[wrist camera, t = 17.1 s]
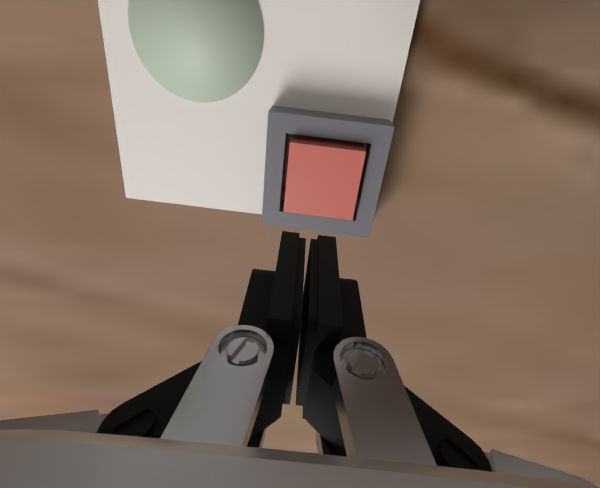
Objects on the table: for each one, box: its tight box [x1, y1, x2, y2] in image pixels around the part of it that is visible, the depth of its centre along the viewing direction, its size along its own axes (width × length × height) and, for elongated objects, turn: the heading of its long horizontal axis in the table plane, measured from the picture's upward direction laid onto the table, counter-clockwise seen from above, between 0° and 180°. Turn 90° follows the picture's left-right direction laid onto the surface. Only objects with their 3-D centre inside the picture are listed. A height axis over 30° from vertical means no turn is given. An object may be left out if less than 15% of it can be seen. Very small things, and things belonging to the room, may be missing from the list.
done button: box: [284, 134, 366, 220], centre depth 21 cm, size 4×4×2 cm
